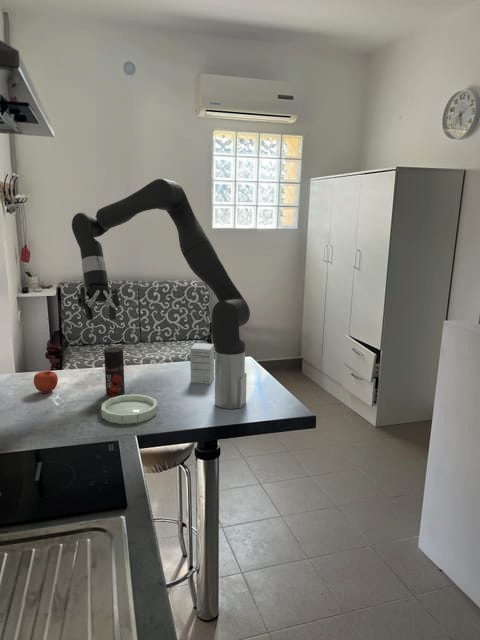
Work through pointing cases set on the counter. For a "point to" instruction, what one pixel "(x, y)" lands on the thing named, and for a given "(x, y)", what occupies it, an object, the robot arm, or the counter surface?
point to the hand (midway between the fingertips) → (101, 320)
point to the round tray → (129, 409)
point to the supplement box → (202, 363)
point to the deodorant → (114, 371)
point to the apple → (45, 381)
